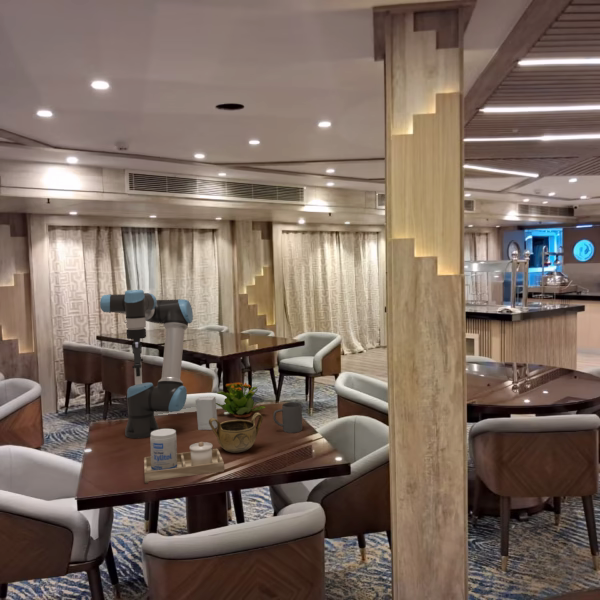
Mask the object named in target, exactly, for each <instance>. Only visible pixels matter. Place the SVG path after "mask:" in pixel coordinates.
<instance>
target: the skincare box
mask: <svg viewBox="0 0 600 600" xmlns="http://www.w3.org/2000/svg"><path fill="white" fill-rule="evenodd" d="M216 403H217V401H216V396H199V397H198V398H196V399H195V406H196V407H195V408H196V419H197V429H198V431H203V430H204V431H206V430H207V431H209V430H210V431H213V430H212V428H211V426H210V424H209V419H210V418H215V419H217V420H218V413H217V411H218V410H217V404H216ZM212 425H213V427H214V428H215V429H217V427H218V426H217V422H216V421H215V420H214V421H212Z"/></svg>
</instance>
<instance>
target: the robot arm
mask: <svg viewBox="0 0 600 600" xmlns="http://www.w3.org/2000/svg"><path fill="white" fill-rule="evenodd" d="M99 303H100V305H99V307H100V309H101V311H102V312H103V313H110V314H111V313H116V314H121V315H125V320H124V324H126V325H125V326H126V339H127V340H133V342H131V348H132V354H133V361H134V362H133V364H134V365H132V367H131V368H132V369H133V372H134V373H133V374H134V385H132V386H129V387H128V388H127V391H126V394H127V395H126V401H127V414H128V415H127V417H128V419H127V421H126V422H127V423H126V427H125V429H124V435H125V436H124V437H126V438H130V439H142V438H143V439H144V438H145V439H146V438H150V437H151V432H153V431H155V430H159V429H160V427H159V424H158V422H157V420H156V417H155V412H156V413H161V412H163V413H164V412H167V413H173V412H174V413H177V412H180V411H182V410H183V408H184V407H185V404H186V401H187V394H188V393H187V387H186V386H184V382H183V381H182V380H181V377H182V376H181V375H182V361H183V349H184V337H185V331H186V330H187V329H188V328H189V327H188V326H189V324H192V323H193V320H194V319H193V318H194V312H193V307H192V305H191V302H190V300H188V299H180V298H178V299H157V298H156V296H155V295H154V294H153V293H150V292H149V293H148V292H145V291H144V289H143V290H142V289H131V290H130V289H127V290H126V291H125V292H124V293H120V294H118V293H117V294H115V293H114V294H104V295H102V296H101V298H100V300H99ZM147 322H148V323H153V324H161V325H162V324H163V327H164V328H165V337H164V339H165V340H164V347H163V359H162V369H161V371H162V372H161V378H160V379H159V380H158V381H157V385H156V386H154V384H153V382H143V372H142V370H143V368H142V366H143V365H142V362H143V358H142V357H141V355H142V351H143V350H142V348H143V342H141V339H146V338H147V329H146V327H147Z"/></svg>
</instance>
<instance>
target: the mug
mask: <svg viewBox="0 0 600 600" xmlns="http://www.w3.org/2000/svg"><path fill="white" fill-rule="evenodd" d="M302 407H303V406H302V403H300V402H295V401H294V402H293V401H292V402H291V401H290V402H285V403H283V404H282V406H281V409H280V408H279V409H276V410H274V412H273V415H272V417H273V418H272V419H273V421H274V423H275V424H276V425H277V426H280V427H282V430H283V432H284V433H289V434H290V433H291V434H296V433H300V432H301V431H303V408H302ZM277 413H282V414H281V415H282V416H281V418H282V423H281V422H279V421H278V420H277V417H276V416H277Z"/></svg>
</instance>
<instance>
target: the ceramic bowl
mask: <svg viewBox="0 0 600 600" xmlns="http://www.w3.org/2000/svg"><path fill="white" fill-rule="evenodd" d="M257 417H258V418H257ZM256 419H258V420H257V423H256ZM214 420H215V421H216V422H217V426H218V427H217V428H214V427H213V425H212V421H214ZM263 420H264V416H263V415H262V414H261V413H260V412H259V411H258V412H257V411H256V412H255V413H254V414H253V415H252V416H251V420H247V419H230V420H226V421H222V422H221V423H220V421H219V420H218V418H217V419H215V418H210V419H209V424H210V426H211V428H212V430H211V431H213V433H214V435H215V436H216V439H217V442H218V444H219V446H220V447H221V448H222V449H223V450H225V451H226V452H228V453H233V454H235V453H237V454H239V453H242V452H247V451H248V450H249V449H251V448H252V447H253V445H254V444H255V443H256V439H257V436H258V434H259V431H260V428H261V426H262V422H263Z"/></svg>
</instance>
